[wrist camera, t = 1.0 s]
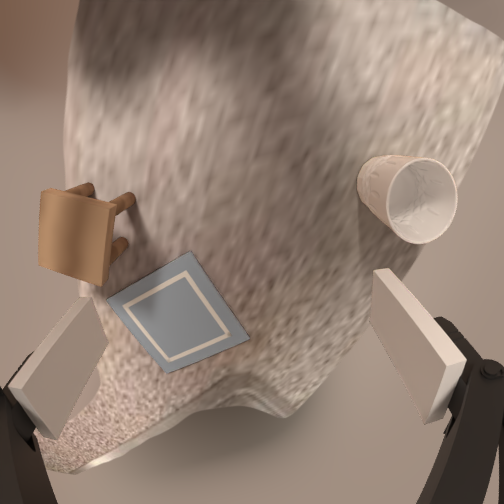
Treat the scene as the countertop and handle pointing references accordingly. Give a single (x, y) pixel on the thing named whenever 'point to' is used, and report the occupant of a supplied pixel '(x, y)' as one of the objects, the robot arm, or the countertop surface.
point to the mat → (178, 314)
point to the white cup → (409, 195)
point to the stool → (80, 232)
